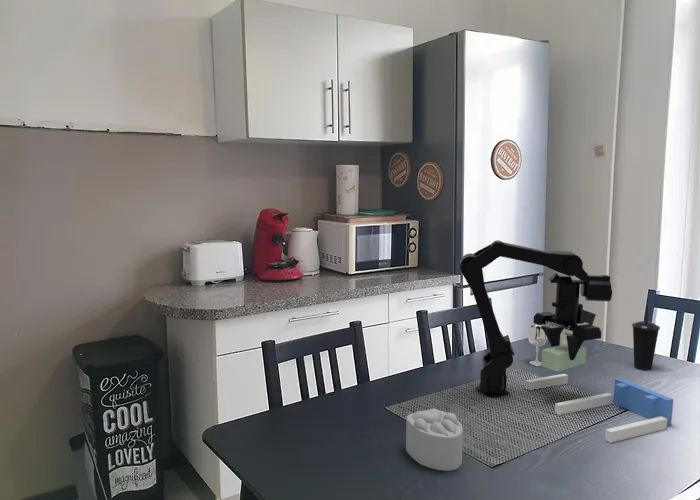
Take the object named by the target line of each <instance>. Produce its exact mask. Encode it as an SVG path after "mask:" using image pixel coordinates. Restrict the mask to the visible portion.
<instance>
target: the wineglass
mask: <svg viewBox="0 0 700 500" xmlns="http://www.w3.org/2000/svg"><path fill="white" fill-rule="evenodd" d="M542 326H543V325H537V324H532V325H530V328H529V330H528V337H527V338H528V341H529V343H530V344H531V346H534V347H535V353H536V354H535V356H536V357H535V359H534V360H531V361H529V364H530V365H533V366H539V367H542V366H541V363H542V361H541V360H540V361H539V359H538V357H539V352H540V351H539V350H540V349H539V347H541V348H542V347H543V346H545V345H547V342H548V338H547V336H546V334H545V332H544V331H543V329H541V327H542Z"/></svg>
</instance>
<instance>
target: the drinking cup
mask: <svg viewBox="0 0 700 500" xmlns="http://www.w3.org/2000/svg"><path fill="white" fill-rule="evenodd" d="M648 318H649V305H647V304H646V305H645V318H644V320H640V321H636V322H633V323H631V327H632V334H633V335H632V336H633V337H632V339H633V340H632V341H633V367H634V368H635V369H637V370H640V371H651V370H652V368H653V363H654V358H655V353H656V347H657V342H658V341H657V340H658V335H659V331H660V328H661V327H660V325H657V324H656V323H653V322H652V321H649V319H648Z"/></svg>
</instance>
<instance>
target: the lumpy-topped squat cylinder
mask: <svg viewBox="0 0 700 500" xmlns="http://www.w3.org/2000/svg"><path fill="white" fill-rule="evenodd" d="M405 429H406V431H405V434H406V435H405V451H406V453H407V454H408V455H409V456H410V457H411V458H412V459H413V460H414V461H415V462H416V463H418V464H420V465H421V466H424V467H426V468H430V469H432V470H437V471H445V472H449V471H450V472H451V471H456V470H457V469H459V468H460V467H461V466H462V463H463V440H464V439H463V437H464V429H463V424H462V423H461V422H460V421H459V420H458V417H457V416H456V414H455V413H453V412H445V411H443V410H438V409H437V408H430V409H427V410H417V411H415V412H414V413H410V414H408V415H407V416H406V426H405Z"/></svg>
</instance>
